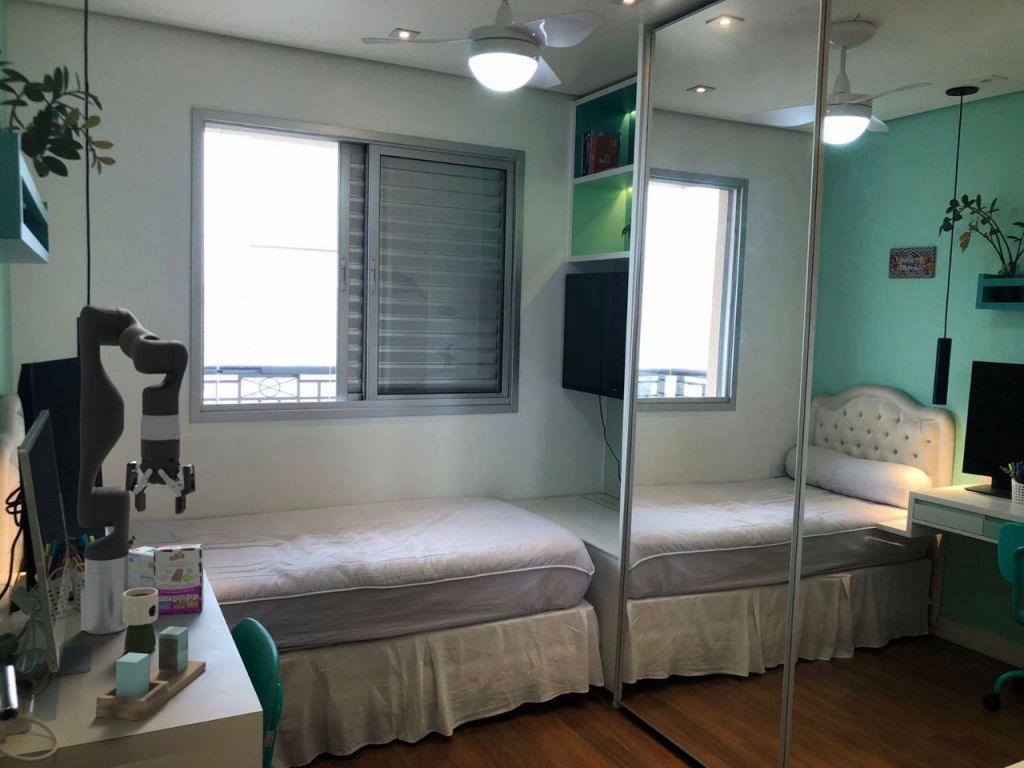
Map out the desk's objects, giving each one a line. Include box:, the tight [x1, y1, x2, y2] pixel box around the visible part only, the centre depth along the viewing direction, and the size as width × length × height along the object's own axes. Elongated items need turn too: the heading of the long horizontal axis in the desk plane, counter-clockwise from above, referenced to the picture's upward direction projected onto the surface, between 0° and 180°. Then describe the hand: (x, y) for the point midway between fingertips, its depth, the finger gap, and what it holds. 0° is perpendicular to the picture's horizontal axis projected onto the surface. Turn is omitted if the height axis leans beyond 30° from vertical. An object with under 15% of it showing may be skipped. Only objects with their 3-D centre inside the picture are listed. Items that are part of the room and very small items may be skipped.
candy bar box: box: [154, 543, 205, 616], centre depth 202 cm, size 11×5×16 cm, turn 105°
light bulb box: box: [129, 545, 156, 589], centre depth 218 cm, size 11×7×11 cm, turn 68°
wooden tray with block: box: [95, 625, 207, 722], centre depth 157 cm, size 9×23×10 cm, turn 173°
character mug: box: [122, 588, 159, 654], centre depth 177 cm, size 11×7×13 cm, turn 13°
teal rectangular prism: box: [115, 652, 151, 698], centre depth 150 cm, size 4×4×8 cm
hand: (160, 512), depth 170 cm, fingers open, 8 cm apart
